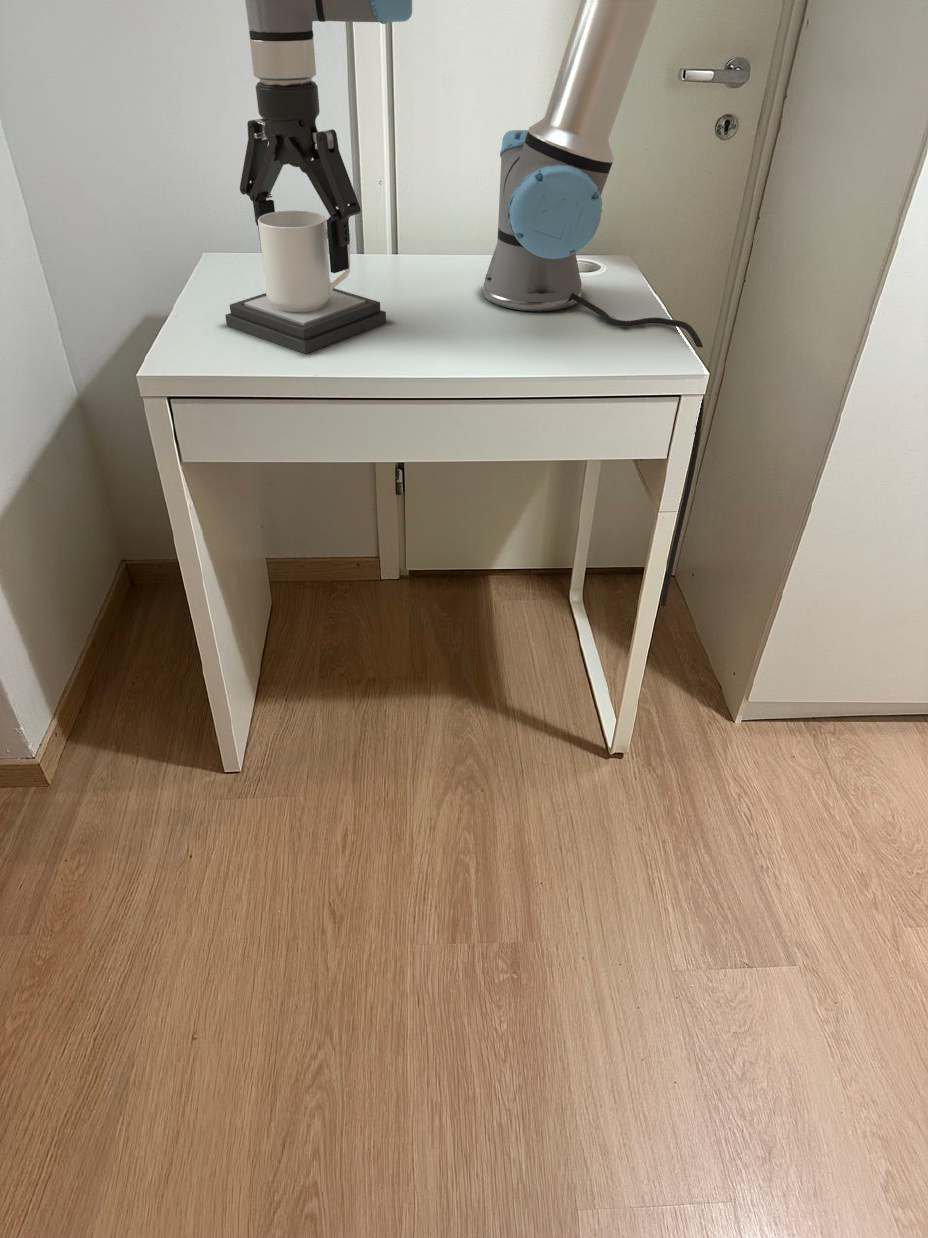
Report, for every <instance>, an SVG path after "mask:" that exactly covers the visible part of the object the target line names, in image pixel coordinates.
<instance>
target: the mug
mask: <svg viewBox="0 0 928 1238" xmlns="http://www.w3.org/2000/svg"><path fill="white" fill-rule="evenodd" d="M326 220H327V218H326V217H325V216H324V215H323V214H321V213H318V212H314V211H309V210H279V211H275V212H272V213H268V214H265V215H262V216H261V217H259V219H258V226H259V231H258V236H259V235H260V239H259V245H260V244H261V247H260V253H261V260H262V261H261V262H262V269H263V279H264V286H265V288H264V289H265V293H266V296H267V299H268V300H269V302H270V303H271V304H273V305H274V306H275V307H276V308H277V309H279V310H282V311H287V312H309V311H314V310H317V309H320V308H322V307H323V306H324V305H325V304H326V303H327V301H328V300H329V299H330V296H331V291H332V290H333V289H334V288H335V289H336V287H337V286H339V284H341V283H342V282H343V281H345V280H346V278H348V276H349V275H350V273H351V242H350V243H349V245H347V247H348V261H349V269H346V270H344V272H342V273H341V274H340V275H339V276H338V277H337V278H335V279H334V280H333V281H332V282H331V276H330V273H331V272H330V258H329V246H328V234H327V222H326ZM258 226H257V227H258ZM349 235H350V236H351V231H350V230H349Z"/></svg>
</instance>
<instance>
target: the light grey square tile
mask: <svg viewBox="0 0 928 1238" xmlns="http://www.w3.org/2000/svg"><path fill="white" fill-rule="evenodd" d="M365 303H366V301H365V300H361V299H358V298H355V297H352V296H348V295H345V294H342V293H338V292H335V291H331V296H330V299H329V300H328V301H327V303H326V304H325V305H324V306H323V307H322V308H320V309H317V310H314V311H309V312H287V311H282V310H279V309H277V308H276V307H275V306H274V305H273V304H271V303H270V302H269V300H268V299H267V296H264V297H261V298H258V299H255V300H251V301H248V302H245V303H244V306H247V307H250V308H253V309H256V310H259V311H262V312H265V313H268V314H271V315H274V316H277V317H280V318H283V319H286V320H289V321H292V322H295V323H298V324H301V325H304V326H305V325H307V324H310V323H313V322H316V321H318V320H321V319H324V318H327V317H329V316H332V315H335V314H338V313H340V312H343V311H346V310H349V309H352V308H354V307H357V306H360V305H363V304H365Z"/></svg>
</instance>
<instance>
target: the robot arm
mask: <svg viewBox="0 0 928 1238" xmlns="http://www.w3.org/2000/svg"><path fill="white" fill-rule="evenodd" d="M657 2H658V0H580V1H579V5H578V7H577V11H576V15H575V17H574V20H573V24H572V28H571V30H570V34H569V37H568V40H567V43H566V47H565V50H564V53H563V56H562V60H561V63H560V66H559V69H558V72H557V76H556V79H555V82H554V85H553V89H552V92H551V95H550V98H549V101H548V104H547V108H546V111H545V114H544V117H543V118H542V119H541V120H539V121H537V122H535V123H534V124H533V125H531V126H529V127H528V129H512V130H508V131H506V132H505V133H504V135H502V141H501V148H500V151H499V157H500V177H499V199H498V223H497V240H496V241H497V242H496V245H495V249H494V251H493V254H492V257H491V260H490V263H489V264H488V265H489V266H488V269H487V271H486V274H485V277H484V281H483V296H484V298H485V299H486V300H488V301H489V302H490V303H493V304H494V305H497V306H500V307H503V308H507V309H512V310H517V311H524V312H526V311H527V312H552V311H561V310H564V309H567V308H571V307H573V306H575V305H577V304H580V305H582V306H583V307H585V308H587V309H588V310H590V311H592V312H594V313H596V314H598V315H599V316H600V317H601V318H602V319H603V320H604V321H605V322H606V323H608V324H609V325H612V326H615V327H621V328H622V327H623V328H625V327H626V328H627V327H629V328H630V327H639V326H643V325H651V324H653V325H654V324H655V325H657V324H659V325H664V326H669V327H670V326H671V327H678V328H681V329H683V330H685V331H686V332H687V333H688V334H689V336H690V337H691V339H692V341H693V343H694V345H695V347H696V348H704V346H703V343H702V340H701V339H700V337H699V335H698V333H697V331H696V330H695V328H693V326H691V325H690V324H689V323H687V322H685V321H682V320H677V319H670V318H664V317H643V318H639V319H638V318H637V319H632V320H631V319H630V320H623V319H616V318H613V317H611V316H610V315H609V314H608V313H607V312H606V311H604V310H603V309H602V308H600V307H599V306H596V305H595V304H593V303H591V302H590V301H588V300H587V299H585V298H583V297H582V291H583V288H582V286H583V283H582V279H581V275H580V268H579V264H578V259H577V253H578V252H580V251H581V250H583V249H584V248H585V247H586V246H587V245H588V244H589V243H590V242H591V241H592V239H593V238H594V236H595V234H596V233H597V231H598V228H599V226H600V222H601V219H602V212H603V208H602V207H603V199H602V194H603V191H604V189H605V186H606V183H607V180H608V177H609V175H610V171H611V168H612V166H613V163H614V160H615V156H614V154H613V151H612V149H611V146H610V142H609V139H610V136H611V134H612V131H613V128H614V125H615V121H616V118H617V116H618V113H619V110H620V107H621V105H622V102H623V99H624V96H625V93H626V90H627V88H628V85H629V82H630V79H631V76H632V74H633V71H634V68H635V65H636V61H637V59H638V57H639V53H640V51H641V48H642V45H643V43H644V40H645V36H646V34H647V31H648V28H649V26H650V22H651V19H652V17H653V14H654V11H655V9H656V6H657ZM244 3H245V10H246V18H247V26H248V34H249V44H250V54H251V63H252V72H253V77H255V79H258V80H259V81H258V82H257V83H256V85H255V86H254V87H255V94H256V102H257V110H258V115H259V117H261V118H257V119H250V120H248V121H247V123H246V124H247V125H246V126H247V143H246V150H245V157H244V161H243V167H242V171H241V177H240V183H239V191H240V193H241V194H242V195H246V196H248V197H249V199H250V202H252V207H253V214H254V222H255V225H256V226H257V230H258V232H259V226H258V219H259V217H261V216H262V215H265V214H268V213H272V212H276V210H275V209H276V208H275V200H274V199H270V198H273V195H272V194H271V193H272V190H273V188H274V187H275V185H276V182H277V181H278V177H279V176H280V174H281V172H282V169H283V167H284V166H285V165H290V166H292V167H293V168H298V169H300V171H301V172H302V173H304V174H305V175H306V176H307V178H308V180H309V182H310V183H311V184H312V186H313V188H314V190H315V192H316V194H317V195H318V197H319V199H320V200H321V202H322V204H323V206H324V207H325V209H326V211H327V213H328V215H329V216H328V219H326V229H327V234H328V239H327V243H328V258H329V271H330V273H332V274H338V273H340V272H343V271H345V270H346V269H349V261H348V247H347V245H349V243H350V244H351V234H350V235H349V231H350V224H349V223H350V218H351V217H352V216H356V215H359V214H360V213H361V210H362V209H361V206H360V203H359V201H358V198H357V196H356V193H355V190H354V187H353V184H352V182H351V179H350V176H349V173H348V171H347V167H346V165H345V162H344V159H343V158H342V154H341V152H340V148H339V141H338V134H337V132H336V130H335V129H327V130H321V131H319V130H318V127H317V123H316V120H317V117H318V116H319V115H320V113H321V111H320V97H319V88H318V87H319V86H318V84H316V81H314V80H313V78H315V77H316V75H317V65H316V54H315V41H314V30H313V22H321V23H325V22H341V23H342V22H344V23H379V24H382V25H386V24H389V23H401V22H407V21H408V20H410V19H411V17H412V15H413V0H244ZM258 237H259V240H260V235H259V234H258ZM259 246H260V248H261V244H260V243H259ZM702 399H703V400H702ZM702 399H701V400H702V403H701V408H700V413H699V417H698V422H697V426H696V425H695V427H696V432H695V431H694V435H695V436H693V443H692V449H691V455H690V461H689V465H688V471H687V477H686V480H685V481H686V482H685V486H684V491H683V495H682V500H681V504H680V505H681V506H680V509H679V515H678V518H677V523H676V528H675V531H674V537H673V541H672V546H671V551H670V554H669V559H668V564H667V569H666V574H665V578H664V583H663V589H662V595H661V601H660V606H661V607H663V608H664V607H666V606H667V600H668V594H669V589H670V584H671V579H672V574H673V569H674V565H675V561H676V555H677V551H678V547H679V543H680V537H681V534H682V528H683V524H684V519H685V516H686V511H687V507H688V503H689V498H690V493H691V488H692V484H693V480H694V474H695V470H696V463H697V458H698V453H699V447H700V441H701V433H702V426H703V419H704V418H703V417H704V406H705V398H704V397H703V398H702Z"/></svg>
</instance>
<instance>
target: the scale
mask: <svg viewBox="0 0 928 1238" xmlns="http://www.w3.org/2000/svg"><path fill="white" fill-rule="evenodd" d="M332 291H335V292H338V293H342V294H345V295H348V296H352V297H355V298H358V299H361V300H365V301H366V303H365V304H363V305H360V306H357V307H354V308H352V309H349V310H346V311H343V312H340V313H338V314H335V315H332V316H329V317H327V318H324V319H321V320H318V321H316V322H313V323H310V324H307V325H305V326H304V325H301V324H298V323H295V322H292V321H289V320H286V319H283V318H280V317H277V316H274V315H271V314H268V313H265V312H262V311H259V310H256V309H253V308H250V307H247V306H244V303H245V302H248V301H251V300H255V299H258V298H261V297H264V296H266V292H264V293H261V294H259V295H255V296H252V297H249V298H246V299H243V300H239V301H236V302H233V303H230V304H229V311H230V312H229V313H226V314H225V315H224V316H225V323H226V326H227V327H229V328H231V329H235V330H237V331H241V332H243V333H246V334H249V335H252V336H254V337H257V338H259V339H262V340H266V341H268V342H271V343H274V344H277V345H280V346H282V347H285V348H288V349H291V350H293V351H295V352H299V353H302V354H304V355H307V354H310V353H312V352H314V351H317V350H320V349H322V348H325V347H327V346H330V345H333V344H335V343H338V342H341V341H343V340H346V339H348V338H351V337H353V336H355V335H359V334H360V333H363V332H365V331H368V330H371V329H374V328H376V327H379V326H381V325H384V324H386V323H387V312H386V311H385V310H381V302H380V301H378V300H375V299H371V298H368V297H365V296H362V295H358V294H355V293H352V292H348V291H345V290H341V289H338V288H336V287H335V288H334V289H333V290H332Z"/></svg>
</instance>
